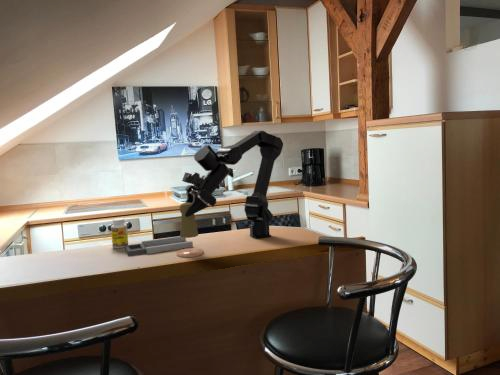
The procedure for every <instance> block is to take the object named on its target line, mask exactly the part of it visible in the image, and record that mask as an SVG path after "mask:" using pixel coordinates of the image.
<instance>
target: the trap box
mask: <svg viewBox="0 0 500 375" xmlns="http://www.w3.org/2000/svg"><path fill="white" fill-rule="evenodd" d="M124 249H125V252H126V254H127V256H129V257H130V256H135V255H143V254H147V252H146V247H145V246H144V245H143V244H142V242H140V243H135V244H128V245H125V247H124Z"/></svg>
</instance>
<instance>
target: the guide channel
mask: <svg viewBox="0 0 500 375" xmlns="http://www.w3.org/2000/svg"><path fill="white" fill-rule="evenodd" d="M183 241H184V242H183ZM141 243H142V244H143V245H144V246H145V248H146V252H147V253H146V255H147V254H155V253H163V252H169V250H170V251H176V250H177V251H178V250H182V249H183V248H184V249H188V248H194V244H193V241H192V240H190V241H187V240H186V238H182V237H180V235H179V236H172V237H171V236H170V237H163V238H157V239H156V238H155V239H148V240H141ZM162 251H163V252H162Z"/></svg>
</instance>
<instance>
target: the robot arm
mask: <svg viewBox="0 0 500 375" xmlns="http://www.w3.org/2000/svg"><path fill="white" fill-rule="evenodd" d="M256 146H257V147H259V152H260V155H261V156H260V157H261V161H260V165H259V168H258V173H257V177H256V181H255V186H254V189H253V192H252V194H251V195H247V196H246V197H245V202H244V205H243V207H244V212H245V216H246V219H247V221H250V224H249V236H251V237H252V238H254V239H257V240H258V239H262V238H264V239H265V238H270V237H272V234H270V222H271V221H273V217H274V213H272V212H271V210H269V201H268V198H267V194H268V190H269V186H270V181H271V177H272V172H273V169H274V164H275V161H276V160H277V159H278V158H279V156H280V155H281V153H282V150H283V147H284V142H283V140H282V139H281V138H280V137H279V136H276V135H274V134H270V133H268V132H266V131H265V130H253V131H252V132H251V133H250V134H248V135H247V136H245V137H244V138H242V139H240V140H239V141H237V142H236V143H234V144H231V145H226V146H223V147H220V148H218V150H216V152H215V150H214V149H213V148H212V147H211V145H209V144H204V146H203V147H201V148H200V149H198V150H197V151H196V152H195V153H194V156H193V159H194V161H195V162H196V163H197V164H199V166H200V167H201V168H202V169H203V170H205V172H207V173H206V174H203V175H201V174H200V173H198V172H193V173H189V172H184V175H183V178H182V180H181V181H182V182H183V183H187V186H185V187H184V190H185V192H186V193H185V194H186V200H185V202H184V203H192V204H191V205H190V207H189V209H188V210H187V212H186V214H185V216H186V217H189V216H191V215H193V214H194V215H195V214H197V213H198V212H200V211H203V210H205V209H207V208H209V206H210V207H211V208H214V207H215V205H216V204H217V198H216V197H215V196H214V195H213V194H214V192H215V191H216V190H219V189H220V188H221V187H220V185H221V184H222V183H223V182H224V180H225V179H226V178H227V176H228V177H230V178H233V177H234V169H233V168H232V167H228V166H229V165H230V166H232V165H233V166H235V165H236V164H238V163H239V162H240V161H241V159H242V158H243V155H244V154H245V153H247V152H248V151H250V150H251V149H253V148H254V147H256ZM188 184H189V185H188Z"/></svg>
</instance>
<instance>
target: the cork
mask: <svg viewBox="0 0 500 375" xmlns="http://www.w3.org/2000/svg"><path fill="white" fill-rule="evenodd" d="M191 204H192V203H185V202H184V203H181V204H180V205H179V212H180V214H181V217H180V233H179V236H180V237H182V238H187V239H188V238H195V237H198V236H199V232H198V227H197V222H196V216H195V214H193V215H191V216H189V217H186V216H185V214H186V212H187V210H188V209H189V207H190V205H191Z"/></svg>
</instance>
